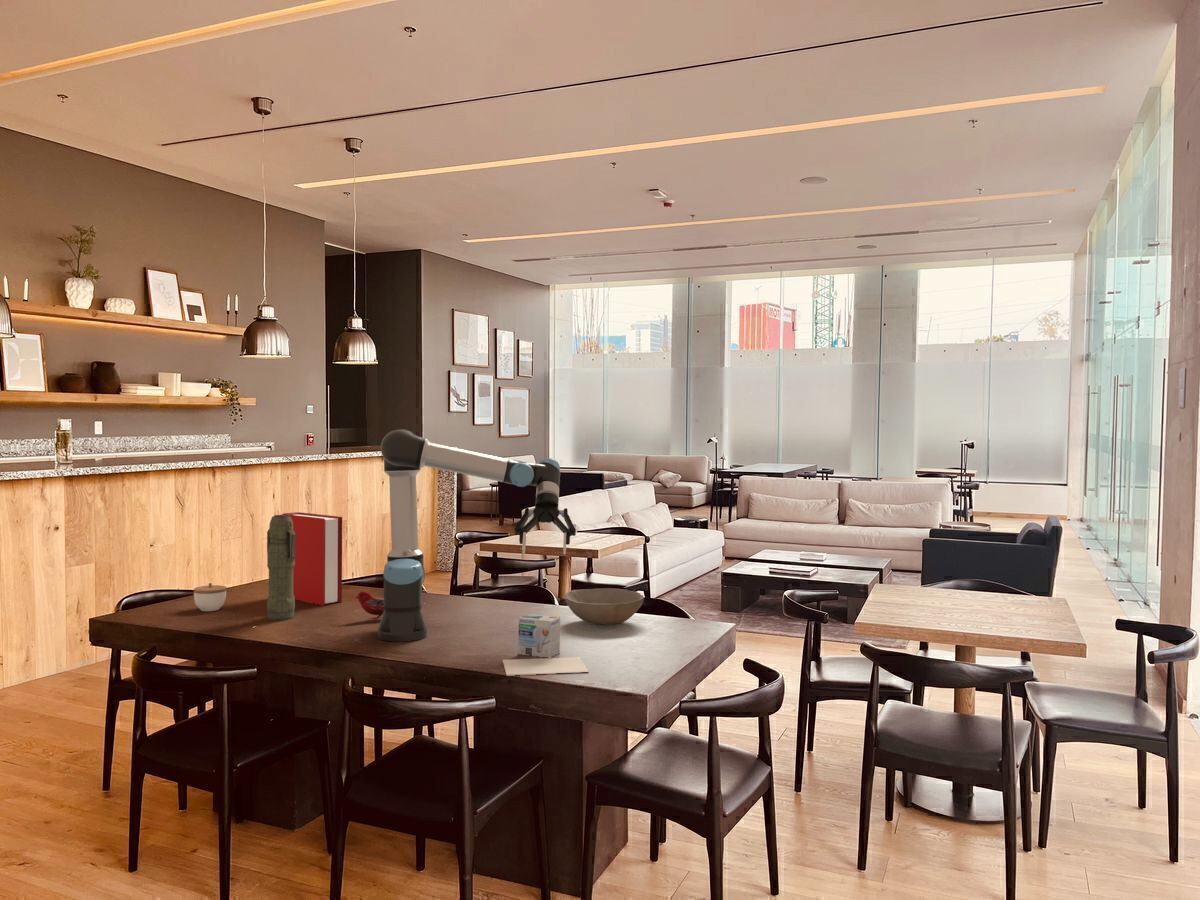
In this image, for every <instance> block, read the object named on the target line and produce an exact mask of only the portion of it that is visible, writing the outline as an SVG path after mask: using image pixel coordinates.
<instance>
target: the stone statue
mask: <svg viewBox="0 0 1200 900" xmlns="http://www.w3.org/2000/svg"><path fill="white" fill-rule="evenodd" d="M295 543H296V534H295V532H294V530H293V522H292V519H291V516H289V515H282V514H275V515H273V516H271V519H270V521H269V528H268V530H267V532H266V552H267V554H266V555H267V562H266V563H267V564H266V565H267V569H268V596H267V599H266V612H267V618H266V619H267V620H269V621H285V620H291V619H293V618H295V609H296V600H295V597H294V594H293V568H294V566H295Z"/></svg>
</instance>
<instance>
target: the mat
mask: <svg viewBox="0 0 1200 900" xmlns="http://www.w3.org/2000/svg"><path fill="white" fill-rule="evenodd" d="M502 664H503V667H504V671H505V675H506V677H512V676H513V677H515V675H520V676H537V675H536V674H547V675H557V674H556V673H574V674H579V673H578V672H590V671H589V670H588V668H587V666H586V665H585V663H584V661H583V659H582V658H581V657H579V656H577V657H551V658H543V657H542V658H522V659H521V658H520V659H518V658H514V659H502Z"/></svg>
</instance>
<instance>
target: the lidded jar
mask: <svg viewBox="0 0 1200 900" xmlns="http://www.w3.org/2000/svg"><path fill="white" fill-rule="evenodd" d="M227 589H228V588H227V586H225V585H222V584H221V585H220V584H219V585H218V584H214V585H212V582H210V583H208V585H201V586H197V587H194V588H193V599H194V603H195V605H196V606H197V608H199V610H200V611H202V612H214V611H218V610H220V608H221V607H222V606H223V605H224V604H225V602H226V599H227Z"/></svg>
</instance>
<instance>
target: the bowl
mask: <svg viewBox="0 0 1200 900" xmlns="http://www.w3.org/2000/svg"><path fill="white" fill-rule="evenodd" d="M564 599H565V601H566V602H565V603H566V605H567V606H568V607H569V610H570V611H571V612H572V614H574V615H575V616H576V617H577V618H579V619H580V620H582V621H584V622H586V623H589V624H592V625H595V626H605V627H606V625H607V626H614V625H619V624H622V623H624V622H627V621H628V620H629V619H630V618H632V616H634V615H635V614H636V613H637V612H638V611H639V609H640V608H641V607H642V605H643V603H644V599H645V598H644V595H643V594H641V593H640V592H638V591H631V590H628V589H621V588H613V587H603V588H602V587H601V588H599V587H598V588H586V589H573V590H570V591H567V592H565V594H564Z"/></svg>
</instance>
